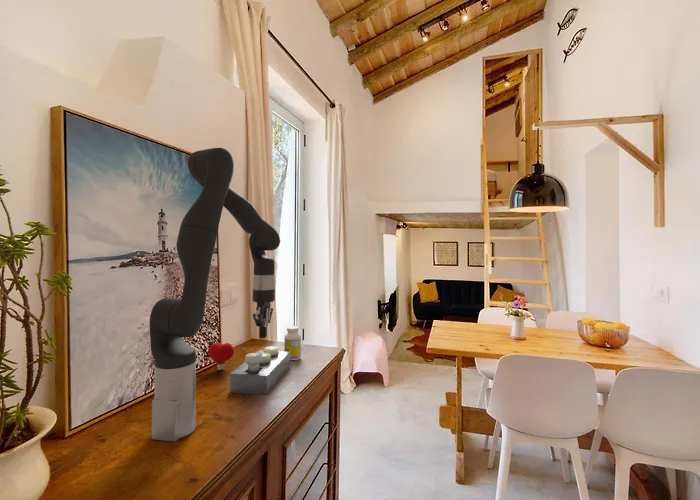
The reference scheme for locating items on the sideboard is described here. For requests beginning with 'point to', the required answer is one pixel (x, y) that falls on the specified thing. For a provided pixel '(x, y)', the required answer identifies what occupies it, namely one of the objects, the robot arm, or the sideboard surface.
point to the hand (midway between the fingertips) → (263, 337)
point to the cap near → (253, 361)
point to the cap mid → (265, 358)
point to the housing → (260, 375)
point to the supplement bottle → (293, 342)
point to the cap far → (271, 350)
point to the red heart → (221, 353)
